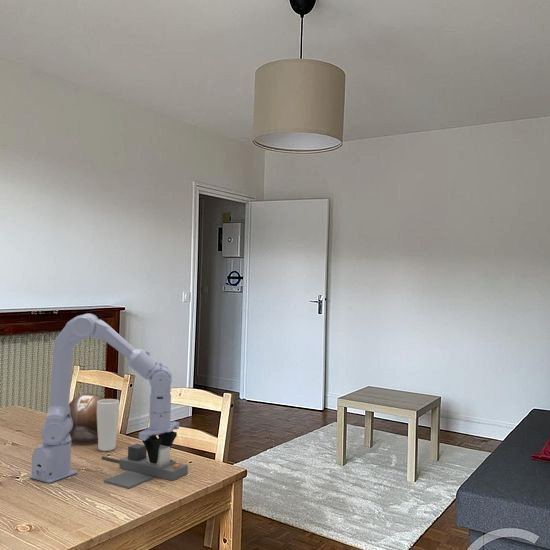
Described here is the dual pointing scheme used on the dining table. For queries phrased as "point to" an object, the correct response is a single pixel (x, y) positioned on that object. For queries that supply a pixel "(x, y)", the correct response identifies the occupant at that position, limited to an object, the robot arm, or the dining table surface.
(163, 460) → the block
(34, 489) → the dining table surface
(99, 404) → the drinking glass
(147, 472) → the power strip
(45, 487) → the dining table surface
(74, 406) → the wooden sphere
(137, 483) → the felt mat
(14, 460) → the dining table surface
